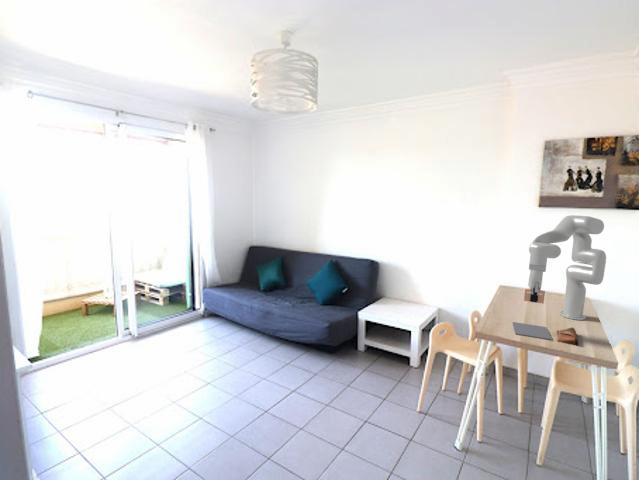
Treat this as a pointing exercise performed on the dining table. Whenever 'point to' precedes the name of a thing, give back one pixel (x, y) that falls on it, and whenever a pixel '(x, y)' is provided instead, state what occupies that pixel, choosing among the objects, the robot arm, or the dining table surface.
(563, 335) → the sunglasses case
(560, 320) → the dining table surface
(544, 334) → the mat
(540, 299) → the slab
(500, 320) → the dining table surface
